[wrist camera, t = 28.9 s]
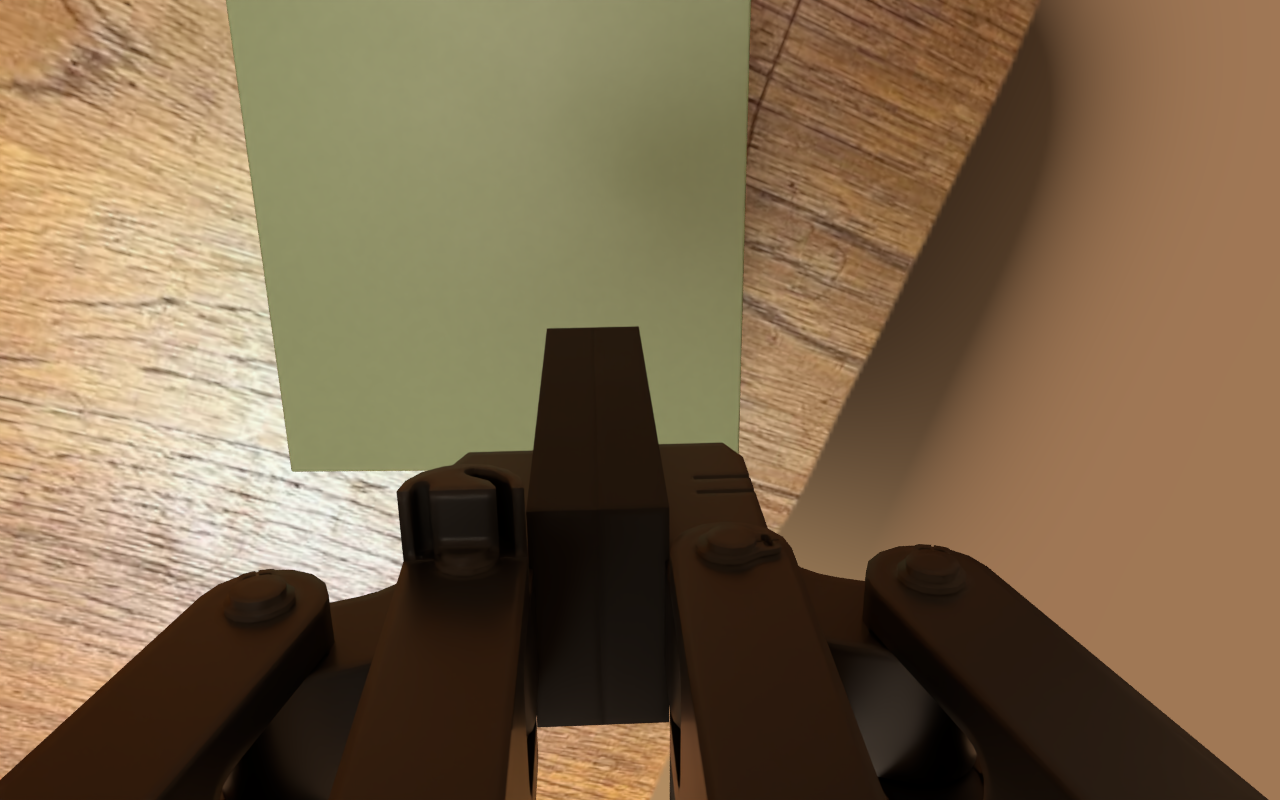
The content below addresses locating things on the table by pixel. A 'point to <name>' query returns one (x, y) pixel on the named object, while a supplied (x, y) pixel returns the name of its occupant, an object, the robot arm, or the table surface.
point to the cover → (492, 211)
